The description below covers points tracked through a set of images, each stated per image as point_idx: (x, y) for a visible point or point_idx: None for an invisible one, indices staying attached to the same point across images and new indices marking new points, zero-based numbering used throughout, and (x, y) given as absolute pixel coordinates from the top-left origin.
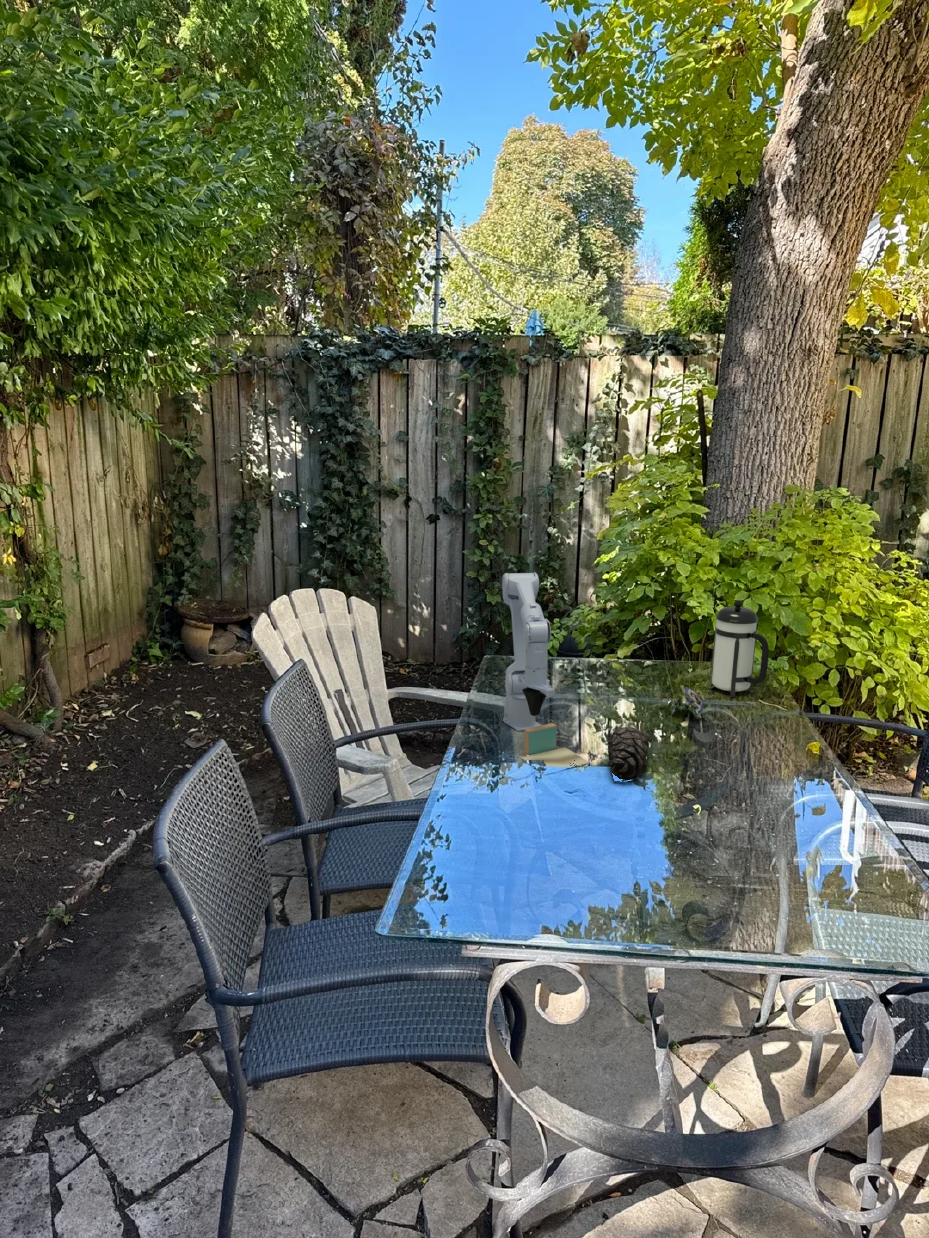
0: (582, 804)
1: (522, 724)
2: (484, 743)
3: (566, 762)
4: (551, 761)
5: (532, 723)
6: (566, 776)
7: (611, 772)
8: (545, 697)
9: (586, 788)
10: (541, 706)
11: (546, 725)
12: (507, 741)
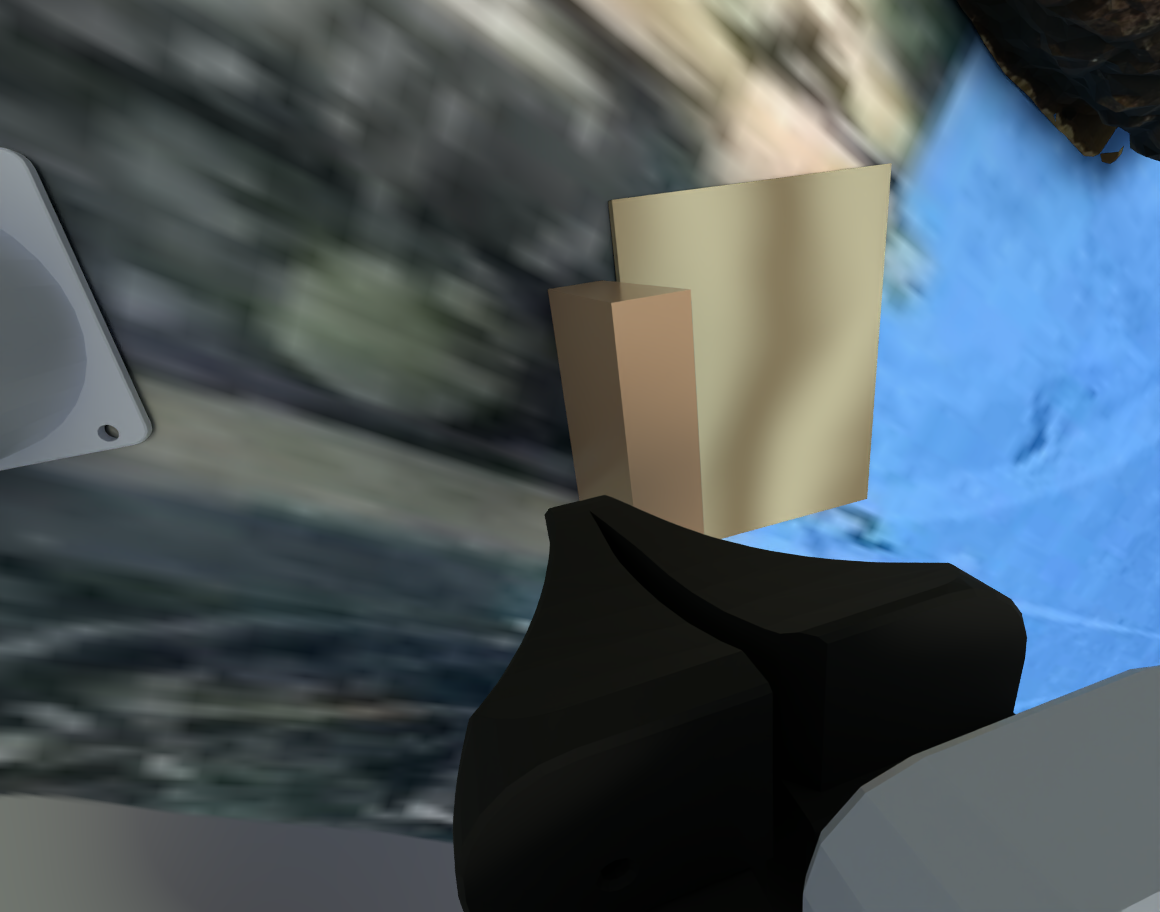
0: (1122, 435)
1: (64, 390)
2: (355, 704)
3: (820, 320)
4: (770, 405)
5: (27, 268)
6: (924, 391)
7: (1035, 100)
8: (834, 567)
9: (1055, 351)
10: (671, 525)
11: (649, 399)
12: (356, 564)
